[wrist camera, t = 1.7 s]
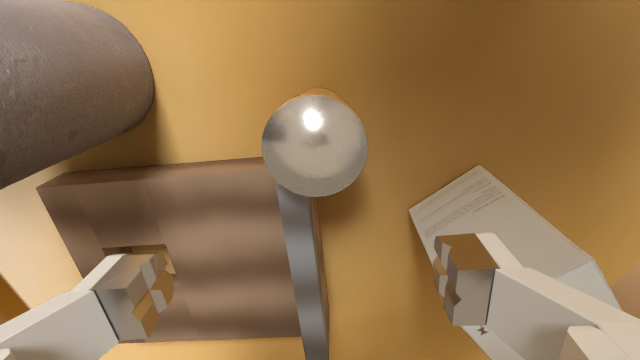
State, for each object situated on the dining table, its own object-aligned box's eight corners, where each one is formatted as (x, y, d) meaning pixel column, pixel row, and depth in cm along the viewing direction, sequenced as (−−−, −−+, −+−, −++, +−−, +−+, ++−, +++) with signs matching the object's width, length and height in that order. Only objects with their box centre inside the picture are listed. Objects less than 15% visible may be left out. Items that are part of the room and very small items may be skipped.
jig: (64, 172, 28) (-1, 206, 23) (311, 153, 26) (305, 184, 21) (133, 319, 36) (97, 371, 30) (329, 311, 34) (328, 364, 29)
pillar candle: (95, 153, 27) (-138, 273, 14) (-3, 46, 24) (-447, 63, 10) (181, 95, 25) (8, 169, 11) (87, -31, 22) (-322, -143, 8)
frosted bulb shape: (276, 81, 24) (252, 101, 17) (355, 73, 24) (365, 90, 16) (287, 154, 27) (270, 200, 19) (359, 149, 26) (369, 193, 19)
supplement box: (447, 260, 31) (516, 396, 19) (405, 208, 28) (455, 326, 17) (520, 220, 29) (646, 346, 17) (481, 160, 26) (597, 258, 15)
